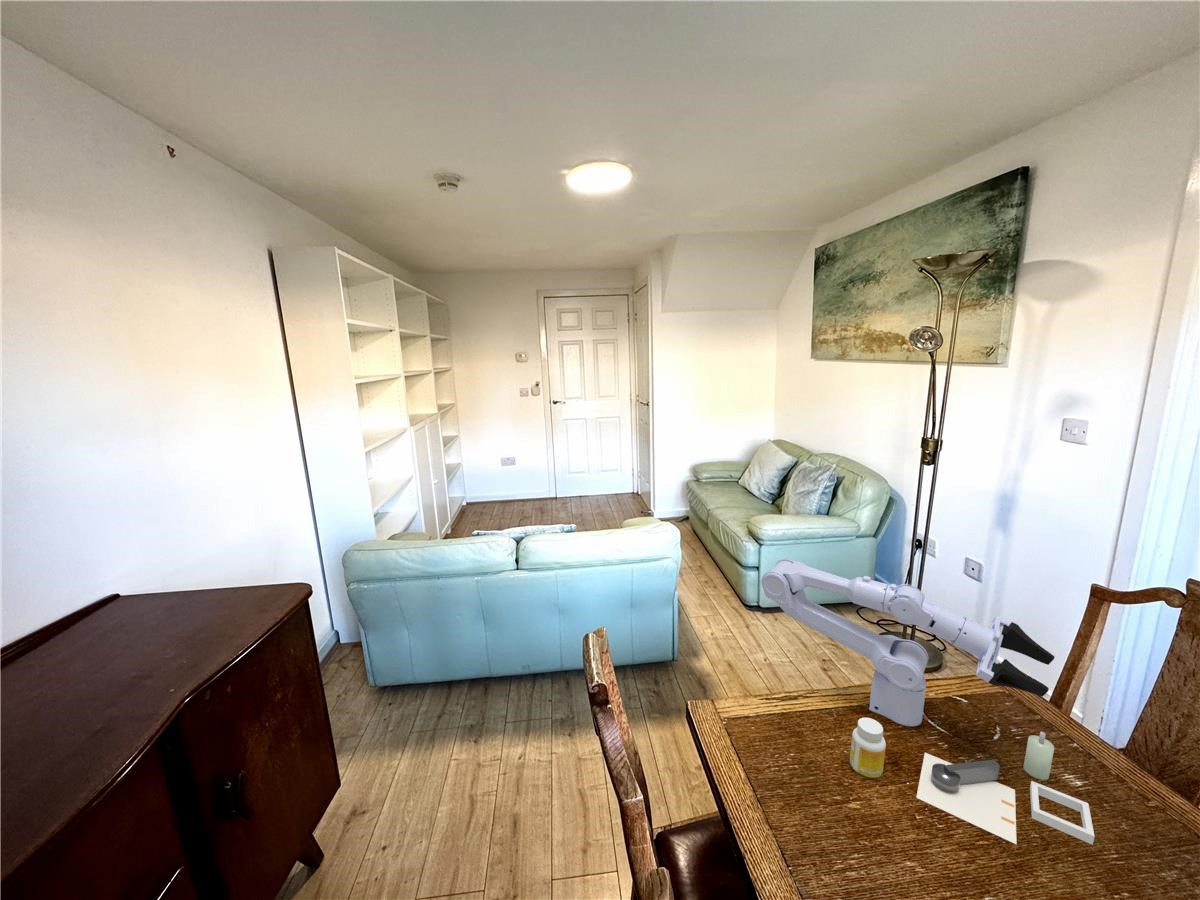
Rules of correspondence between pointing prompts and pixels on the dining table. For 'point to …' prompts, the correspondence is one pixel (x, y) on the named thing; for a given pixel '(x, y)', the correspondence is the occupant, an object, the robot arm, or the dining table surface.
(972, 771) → the dial lever
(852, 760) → the supplement bottle
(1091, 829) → the tool holder
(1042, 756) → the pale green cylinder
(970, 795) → the dial panel
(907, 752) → the dining table surface
